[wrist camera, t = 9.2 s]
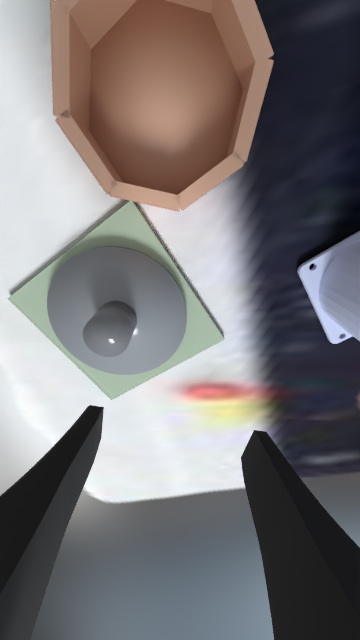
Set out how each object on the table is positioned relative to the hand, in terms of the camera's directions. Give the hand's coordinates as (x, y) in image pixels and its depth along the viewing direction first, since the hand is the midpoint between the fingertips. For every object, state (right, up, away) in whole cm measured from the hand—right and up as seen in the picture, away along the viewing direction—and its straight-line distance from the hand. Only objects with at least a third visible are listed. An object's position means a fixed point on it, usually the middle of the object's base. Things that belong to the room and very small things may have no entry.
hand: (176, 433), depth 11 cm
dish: (-1, +18, +3) cm, 18 cm away
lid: (-5, +6, +8) cm, 11 cm away
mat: (-5, +6, +9) cm, 12 cm away
